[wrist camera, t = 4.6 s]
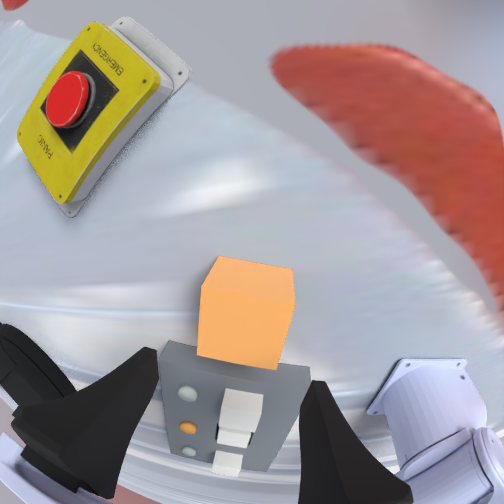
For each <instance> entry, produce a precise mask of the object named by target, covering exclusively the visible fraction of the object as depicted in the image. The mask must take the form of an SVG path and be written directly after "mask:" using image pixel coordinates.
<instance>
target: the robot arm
mask: <svg viewBox="0 0 504 504" xmlns="http://www.w3.org/2000/svg"><path fill="white" fill-rule="evenodd" d="M466 364H467V360H466V359H402V360H400V361H399V362H398V364H397V365H396V367H395V369H394V370H393V372H392V374H391V375H390V377H389V378H388V380H387V382H386V383H385V385H384V386H383V388H382V389H381V391H380V392H379V394H378V395H377V397H376V398H375V400H374V401H373V403H372V404H371V406H370V407H369V408H368V410H367V414H368V415H386V418H387V421H388V425H389V428H390V432H391V436H392V439H393V443H394V447H395V451H396V455H397V459H398V463H399V467H400V471H399V472H397V473H396V474H393V473H391V472H390V471H389V470H388V469H386V468H385V467H384V466H383V465H382V464H381V463H380V462H379V461H378V460H377V459H376V458H375V457H374V456H373V455H372V454H371V453H370V452H369V451H368V450H367V449H366V448H365V446H364V445H363V444H362V443H361V441H360V440H359V439H358V437H357V436H356V435H355V433H354V432H353V430H352V429H351V427H350V426H349V424H348V423H347V421H346V419H345V418H344V416H343V414H342V413H341V411H340V409H339V407H338V405H337V404H336V402H335V400H334V398H333V396H332V394H331V392H330V390H329V388H328V386H327V384H326V382H325V381H315V380H312V382H311V384H310V386H309V388H308V391H307V393H306V395H305V397H304V399H303V401H302V403H301V405H300V414H299V435H300V450H301V481H300V492H299V501H298V504H504V446H503V444H502V443H501V441H500V439H499V438H498V436H497V435H496V434H495V432H494V431H493V430H492V429H490V428H485V426H486V421H487V410H486V406H485V403H484V401H483V399H482V398H481V396H480V394H479V392H478V391H477V389H476V387H475V386H474V384H473V382H472V381H471V379H470V378H469V376H468V374H467V373H466V371H465V370H464V367H465V366H466ZM158 380H159V373H158V362H157V350H155V349H151V348H148V347H143V348H142V349H140V350H139V351H138V352H137V353H136V354H134V355H133V356H132V357H131V358H129V359H128V360H127V361H125V362H124V363H123V364H121V365H120V366H119V367H117V368H116V369H115V370H113V371H112V372H110V373H109V374H107V375H106V376H104V377H103V378H101V379H100V380H98V381H96V382H95V383H93V384H91V385H89V386H87V387H85V388H83V389H81V390H79V391H77V392H75V393H73V394H70V395H68V396H65V397H62V398H59V399H56V400H53V401H50V402H46V403H42V404H36V405H30V406H24V407H23V408H22V409H21V410H20V412H19V413H18V414H17V416H16V417H15V418H14V420H13V421H12V422H11V426H12V428H13V430H14V431H15V432H16V433H17V434H18V436H19V437H20V438H21V439H22V440H23V441H24V443H25V444H26V447H25V448H23V447H22V446H21V445H20V444H18V443H17V442H16V441H15V440H14V439H12V438H11V437H10V436H9V435H8V434H7V433H6V432H3V433H2V435H1V436H0V480H1V481H2V482H3V483H4V484H5V485H6V486H7V487H8V488H9V489H10V490H11V491H13V492H14V493H15V494H16V495H17V496H18V497H19V498H20V499H22V500H23V501H24V502H25V503H27V504H112V503H110V502H108V501H106V500H104V499H102V498H99V497H98V496H101V497H103V498H105V499H112V498H114V493H115V489H116V485H117V481H118V477H119V473H120V470H121V466H122V463H123V460H124V457H125V454H126V451H127V448H128V445H129V443H130V440H131V437H132V435H133V433H134V430H135V428H136V427H137V425H138V423H139V421H140V419H141V417H142V415H143V413H144V411H145V410H146V408H147V406H148V404H149V402H150V400H151V398H152V396H153V394H154V391H155V388H156V386H157V383H158ZM92 493H93V494H92ZM94 494H95V495H94ZM96 495H97V496H96Z"/></svg>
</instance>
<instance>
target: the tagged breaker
mask: <svg viewBox="0 0 504 504" xmlns="http://www.w3.org/2000/svg"><path fill="white" fill-rule="evenodd" d="M250 437H251V432H248V431H242V430H236V429H230V428H225V427H219V433H218V439H217V443H218V444H224V445H229V446H235V447H241V448H247V445H248V442H249V439H250Z"/></svg>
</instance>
